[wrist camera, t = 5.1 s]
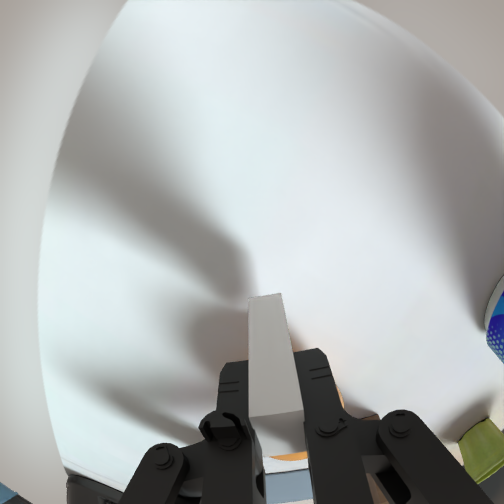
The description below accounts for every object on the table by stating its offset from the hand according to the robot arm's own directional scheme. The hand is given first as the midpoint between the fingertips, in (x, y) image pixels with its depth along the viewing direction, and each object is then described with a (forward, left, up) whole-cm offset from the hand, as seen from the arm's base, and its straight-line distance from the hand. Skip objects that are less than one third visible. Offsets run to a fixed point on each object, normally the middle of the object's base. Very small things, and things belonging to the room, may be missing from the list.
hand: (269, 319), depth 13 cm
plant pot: (+27, -31, -2) cm, 41 cm away
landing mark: (0, -29, -2) cm, 29 cm away
